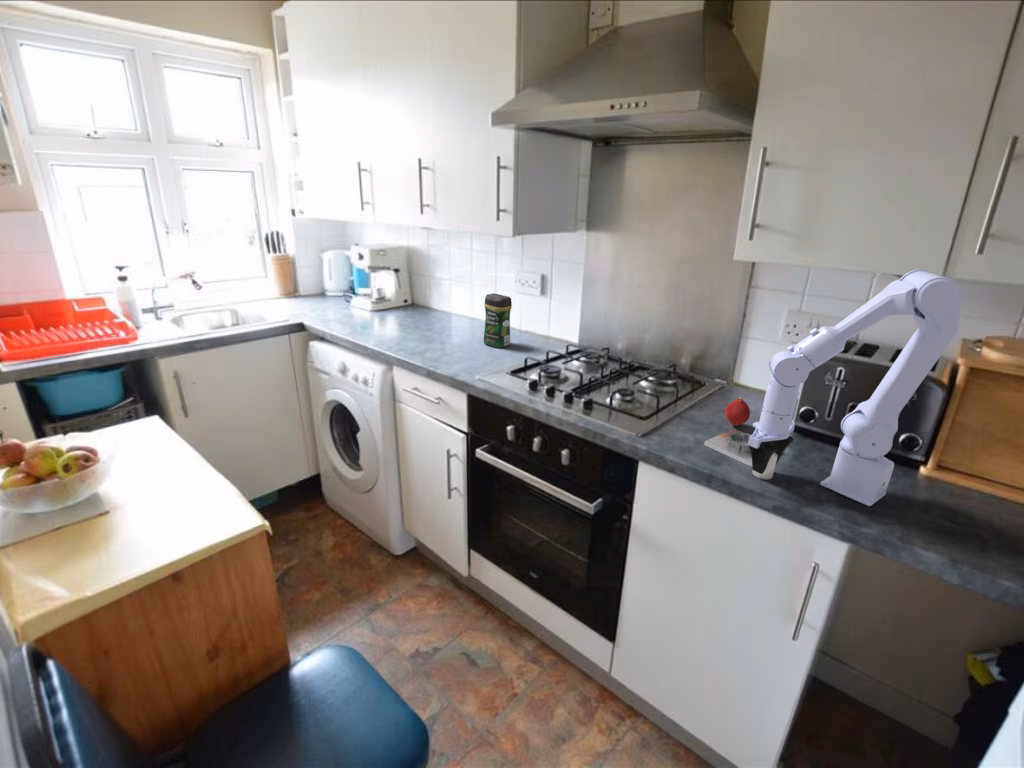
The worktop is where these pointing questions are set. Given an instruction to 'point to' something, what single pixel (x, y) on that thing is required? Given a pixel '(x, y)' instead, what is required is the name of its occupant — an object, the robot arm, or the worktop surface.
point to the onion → (737, 412)
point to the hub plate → (732, 445)
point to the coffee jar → (497, 320)
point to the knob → (767, 468)
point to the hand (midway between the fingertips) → (763, 468)
